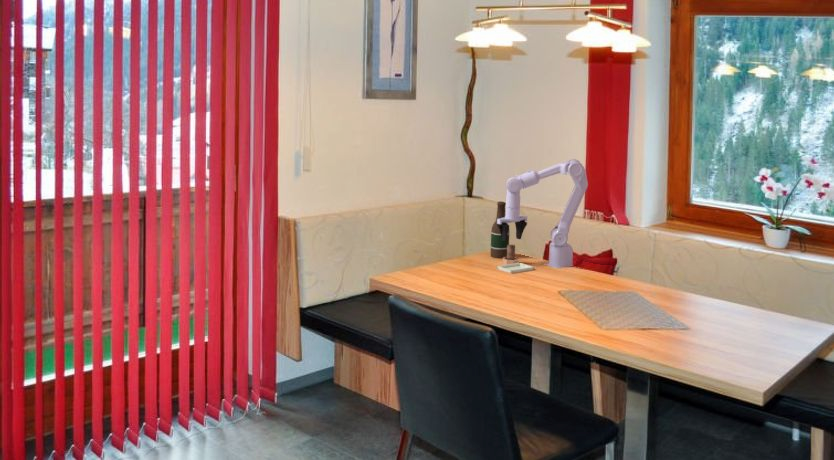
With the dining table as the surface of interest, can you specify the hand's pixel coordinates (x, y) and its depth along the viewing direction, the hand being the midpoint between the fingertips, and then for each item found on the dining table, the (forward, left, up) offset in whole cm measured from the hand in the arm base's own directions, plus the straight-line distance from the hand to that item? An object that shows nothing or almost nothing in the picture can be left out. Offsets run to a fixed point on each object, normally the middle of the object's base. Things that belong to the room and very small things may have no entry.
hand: (511, 239), depth 362 cm
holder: (0, 0, -10) cm, 10 cm away
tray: (+5, +9, -10) cm, 15 cm away
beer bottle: (-4, -12, -11) cm, 17 cm away
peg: (0, 0, -10) cm, 10 cm away
